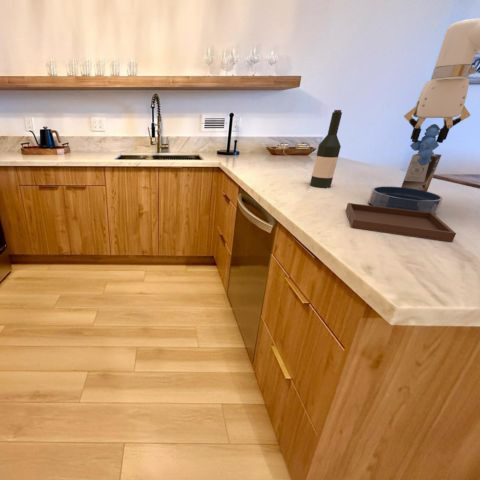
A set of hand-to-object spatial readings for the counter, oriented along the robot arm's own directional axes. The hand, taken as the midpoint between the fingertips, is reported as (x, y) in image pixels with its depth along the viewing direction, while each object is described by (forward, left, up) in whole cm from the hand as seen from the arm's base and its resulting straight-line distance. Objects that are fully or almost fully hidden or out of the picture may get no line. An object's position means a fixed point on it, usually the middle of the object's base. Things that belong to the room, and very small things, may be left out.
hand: (426, 141), depth 88 cm
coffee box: (-5, -13, -21) cm, 25 cm away
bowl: (0, 0, -21) cm, 21 cm away
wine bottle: (+24, -22, -21) cm, 39 cm away
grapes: (0, 0, -7) cm, 7 cm away
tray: (+6, +20, -21) cm, 30 cm away
